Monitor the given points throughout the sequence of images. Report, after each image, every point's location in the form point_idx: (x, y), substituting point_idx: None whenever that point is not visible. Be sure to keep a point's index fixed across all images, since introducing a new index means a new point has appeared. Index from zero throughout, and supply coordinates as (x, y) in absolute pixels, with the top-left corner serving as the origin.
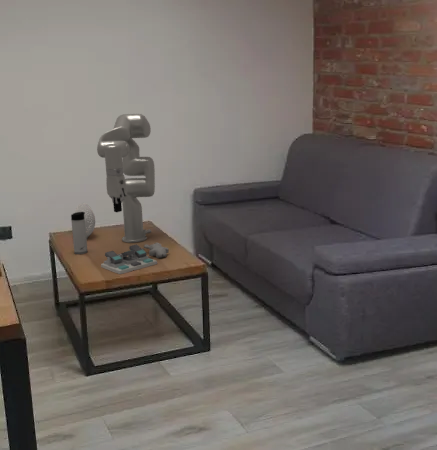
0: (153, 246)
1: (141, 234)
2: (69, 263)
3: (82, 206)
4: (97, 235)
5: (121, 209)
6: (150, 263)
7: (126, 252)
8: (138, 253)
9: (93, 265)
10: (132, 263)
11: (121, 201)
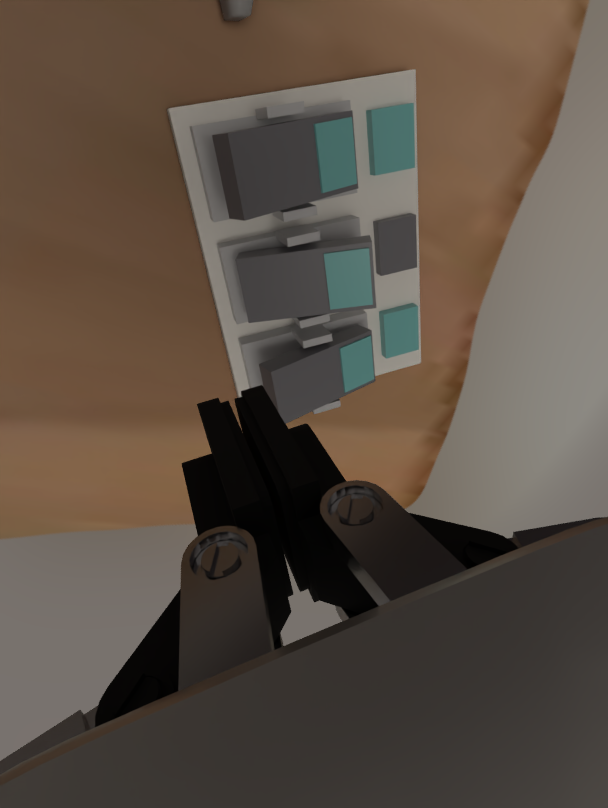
0: None
1: None
2: (61, 532)
3: None
4: None
5: (270, 401)
6: (414, 136)
7: (375, 306)
8: (343, 188)
9: (179, 431)
10: (390, 267)
11: (431, 521)
